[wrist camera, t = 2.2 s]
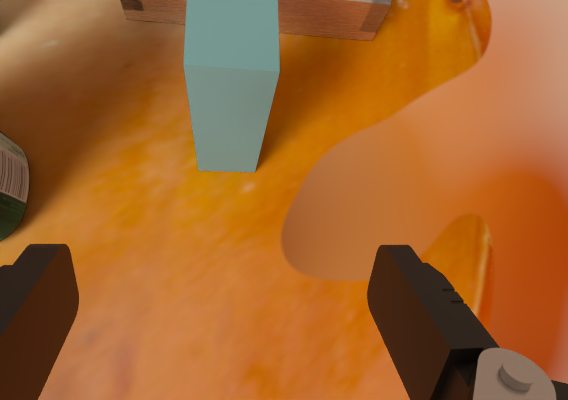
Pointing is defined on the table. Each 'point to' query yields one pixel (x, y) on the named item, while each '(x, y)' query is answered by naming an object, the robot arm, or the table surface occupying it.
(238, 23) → the sage green tall box
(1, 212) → the coffee jar
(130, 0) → the tray
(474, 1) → the table surface
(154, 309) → the table surface
